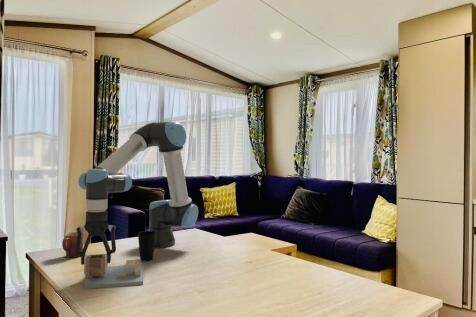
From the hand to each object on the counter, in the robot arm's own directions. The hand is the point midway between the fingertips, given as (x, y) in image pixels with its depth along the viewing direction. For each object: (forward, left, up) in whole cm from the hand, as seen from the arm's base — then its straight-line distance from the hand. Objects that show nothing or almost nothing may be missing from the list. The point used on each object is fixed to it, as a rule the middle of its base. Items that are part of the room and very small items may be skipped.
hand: (96, 272), depth 133 cm
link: (0, -5, 0) cm, 5 cm away
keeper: (-12, -1, -2) cm, 12 cm away
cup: (-18, -24, -3) cm, 30 cm away
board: (-7, -3, -3) cm, 8 cm away
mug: (+15, -35, -3) cm, 38 cm away
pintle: (0, 0, -2) cm, 2 cm away
